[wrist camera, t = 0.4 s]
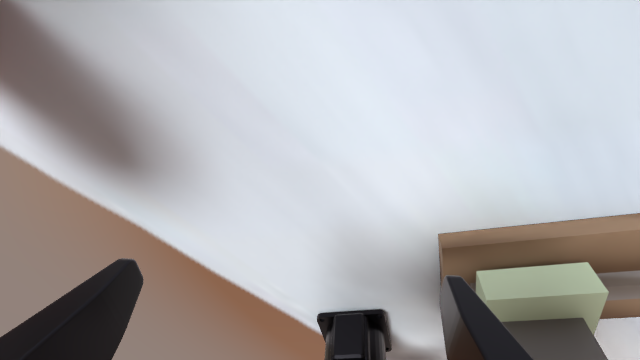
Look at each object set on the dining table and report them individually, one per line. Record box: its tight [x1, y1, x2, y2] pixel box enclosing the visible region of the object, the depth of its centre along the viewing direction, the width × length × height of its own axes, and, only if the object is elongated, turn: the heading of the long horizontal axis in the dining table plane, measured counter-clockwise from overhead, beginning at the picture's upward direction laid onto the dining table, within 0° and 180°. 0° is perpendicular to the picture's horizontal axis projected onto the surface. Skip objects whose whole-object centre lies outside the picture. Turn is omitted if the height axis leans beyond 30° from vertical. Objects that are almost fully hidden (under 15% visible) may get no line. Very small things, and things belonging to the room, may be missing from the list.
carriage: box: [476, 262, 609, 360], centre depth 23 cm, size 8×7×7 cm
